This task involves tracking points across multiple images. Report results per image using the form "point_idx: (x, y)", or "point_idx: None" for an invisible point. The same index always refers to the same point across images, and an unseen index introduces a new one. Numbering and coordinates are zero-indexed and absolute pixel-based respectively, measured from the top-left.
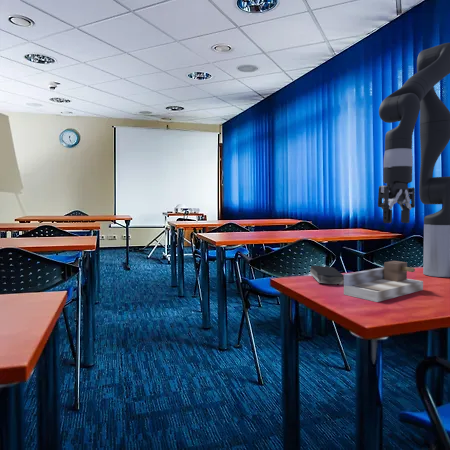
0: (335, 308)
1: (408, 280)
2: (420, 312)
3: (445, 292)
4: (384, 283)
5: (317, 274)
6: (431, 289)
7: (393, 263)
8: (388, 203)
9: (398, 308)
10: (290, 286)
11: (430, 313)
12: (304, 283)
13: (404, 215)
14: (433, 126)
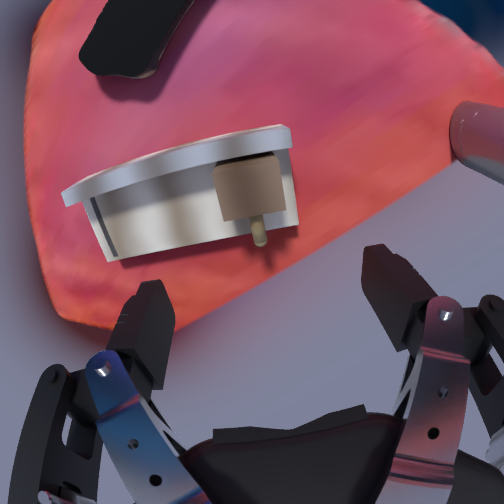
0: (44, 251)
1: None
2: None
3: (314, 251)
4: (177, 203)
5: (80, 53)
6: (317, 220)
7: (222, 207)
8: (153, 415)
9: (128, 290)
10: (34, 73)
11: None
12: (73, 45)
13: (384, 299)
14: None
